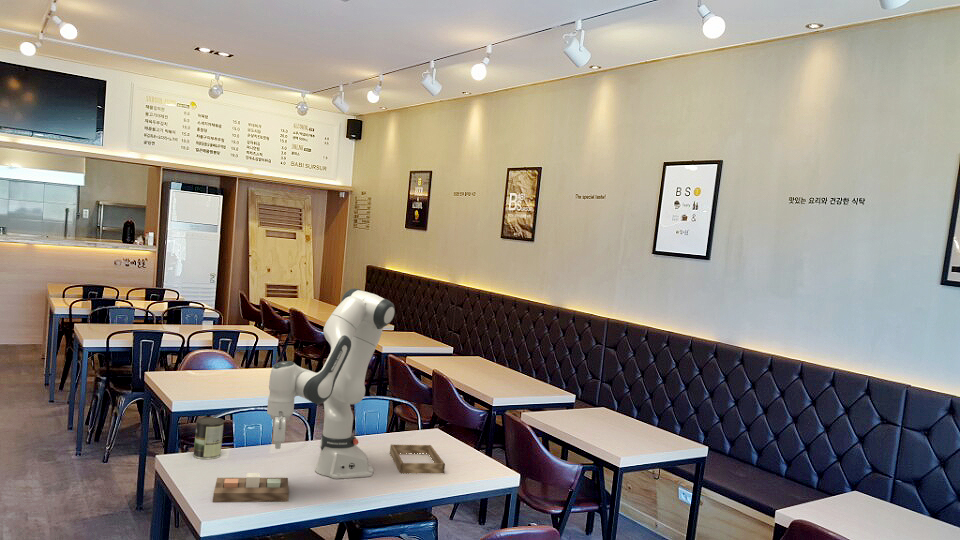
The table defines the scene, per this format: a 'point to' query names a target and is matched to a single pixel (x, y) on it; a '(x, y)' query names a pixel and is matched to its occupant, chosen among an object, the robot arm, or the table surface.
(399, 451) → the frame
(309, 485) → the table surface
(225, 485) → the key terracotta
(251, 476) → the cream cube
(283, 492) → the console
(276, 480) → the key sage
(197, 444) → the coffee can
